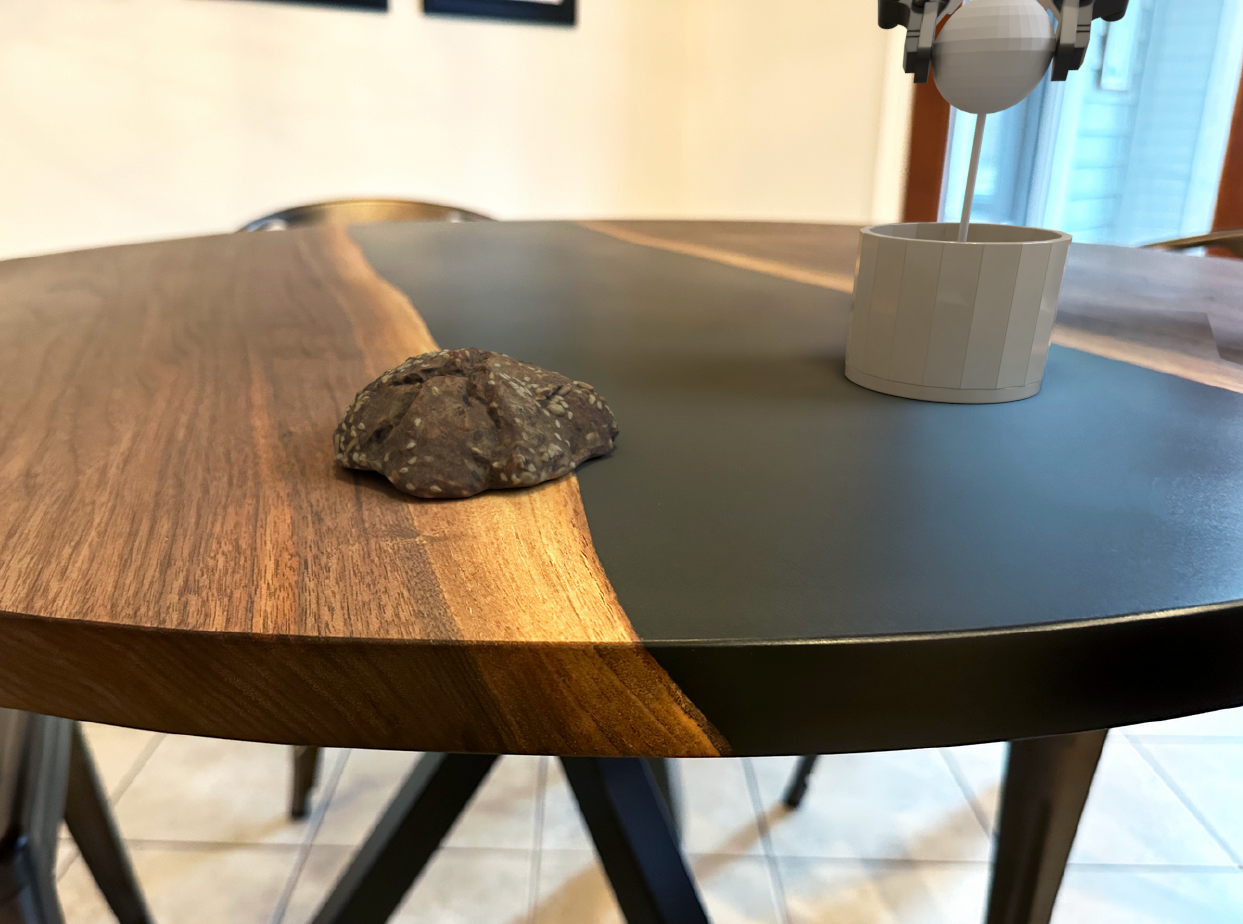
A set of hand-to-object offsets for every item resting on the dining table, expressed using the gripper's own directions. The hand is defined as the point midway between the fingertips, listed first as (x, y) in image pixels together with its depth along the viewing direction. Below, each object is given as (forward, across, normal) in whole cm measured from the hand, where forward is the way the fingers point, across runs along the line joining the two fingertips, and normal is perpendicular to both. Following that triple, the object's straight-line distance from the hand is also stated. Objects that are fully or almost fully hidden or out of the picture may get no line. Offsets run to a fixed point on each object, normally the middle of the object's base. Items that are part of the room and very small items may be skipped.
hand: (990, 68), depth 49 cm
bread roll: (+27, -21, -3) cm, 34 cm away
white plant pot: (+11, 0, +13) cm, 17 cm away
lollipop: (+7, 0, +9) cm, 12 cm away
